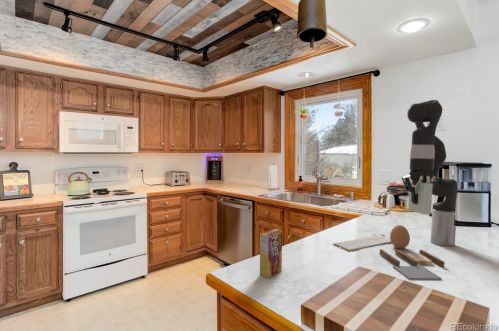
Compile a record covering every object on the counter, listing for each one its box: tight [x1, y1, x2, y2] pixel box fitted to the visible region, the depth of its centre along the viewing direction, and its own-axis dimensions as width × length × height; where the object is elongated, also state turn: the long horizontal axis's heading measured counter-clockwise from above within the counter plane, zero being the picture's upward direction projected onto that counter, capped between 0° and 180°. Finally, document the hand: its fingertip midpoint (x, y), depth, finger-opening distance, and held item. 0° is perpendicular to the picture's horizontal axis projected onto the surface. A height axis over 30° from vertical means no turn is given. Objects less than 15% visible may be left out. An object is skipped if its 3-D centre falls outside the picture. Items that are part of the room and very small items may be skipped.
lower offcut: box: [417, 263, 435, 266], centre depth 112 cm, size 7×9×1 cm
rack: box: [379, 248, 445, 268], centre depth 112 cm, size 19×13×2 cm
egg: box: [389, 224, 411, 250], centre depth 126 cm, size 8×8×11 cm
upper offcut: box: [405, 252, 433, 264], centre depth 112 cm, size 6×8×1 cm
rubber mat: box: [392, 265, 443, 281], centre depth 99 cm, size 12×10×1 cm
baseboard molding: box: [332, 233, 392, 252], centre depth 133 cm, size 31×3×12 cm
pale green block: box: [408, 180, 433, 215], centre depth 98 cm, size 3×8×11 cm, turn 2°
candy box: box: [259, 228, 283, 279], centre depth 97 cm, size 9×4×15 cm, turn 140°
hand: (419, 203), depth 98 cm, fingers closed on pale green block, 3 cm apart
